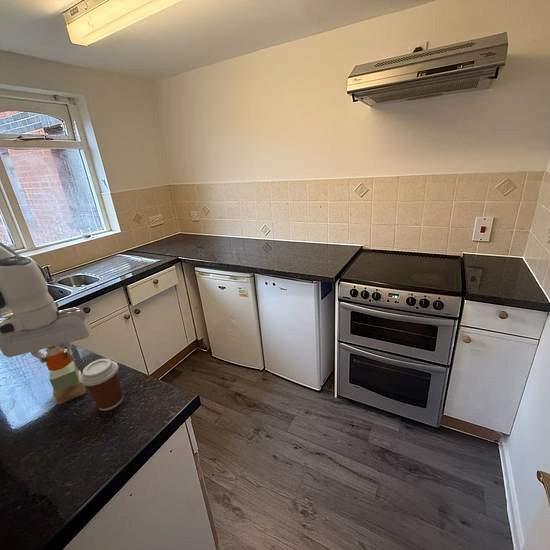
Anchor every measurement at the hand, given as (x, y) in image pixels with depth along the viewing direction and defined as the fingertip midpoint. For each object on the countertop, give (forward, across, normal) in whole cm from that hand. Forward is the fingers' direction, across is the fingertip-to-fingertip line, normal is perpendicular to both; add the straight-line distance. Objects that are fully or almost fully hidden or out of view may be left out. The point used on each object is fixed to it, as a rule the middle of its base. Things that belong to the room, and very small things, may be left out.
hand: (57, 358), depth 84 cm
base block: (+12, 0, 0) cm, 12 cm away
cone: (+2, 0, 0) cm, 2 cm away
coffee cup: (+12, -12, +10) cm, 20 cm away
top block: (+8, 0, 0) cm, 8 cm away
